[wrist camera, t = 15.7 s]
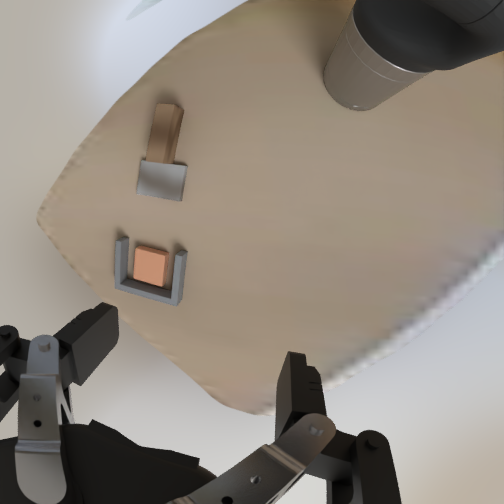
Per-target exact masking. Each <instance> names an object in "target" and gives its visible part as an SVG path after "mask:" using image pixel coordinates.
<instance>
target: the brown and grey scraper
mask: <svg viewBox="0 0 504 504" xmlns="http://www.w3.org/2000/svg"><path fill="white" fill-rule="evenodd" d="M183 114H184V110H183V109H181V108H179V107H178V106H176V105H174V104H157V106H156V110H155V115H154V119H153V124H152V129H151V134H150V139H149V144H148V149H147V155H146V161H145V160H141V166H140V172H139V179H138V186H137V194H140V195H146V196H152V197H158V198H163V199H169V200H174V201H182V197H183V190H184V184H185V178H186V173H187V167H188V166H182V165H176V164H174V158H175V153H176V147H177V142H178V137H179V132H180V127H181V123H182V118H183Z"/></svg>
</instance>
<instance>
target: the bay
mask: <svg viewBox="0 0 504 504" xmlns="http://www.w3.org/2000/svg"><path fill="white" fill-rule="evenodd" d="M128 247H129V238H127V237H122V238H120V239H118V240H116V248H115V288H116V289H119V290H122V291H125V292H128V293H132V294H135V295H138V296H142V297H145V298H149V299H152V300H156V301H159V302H163V303H166V304H170V305H173V306H178V304H179V303H180V301H181V300H182V294H183V285H184V276H185V268H186V260H187V251H183V250H181V251H180V252H178V253H177V254H176V256H175V264H174V274H173V284H172V291H170V290H166V289H162V288H159V287H155V286H151V285H148V284H144V283H141V282H137V281H133V280H130V279H127V266H128Z"/></svg>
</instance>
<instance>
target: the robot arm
mask: <svg viewBox="0 0 504 504" xmlns="http://www.w3.org/2000/svg"><path fill="white" fill-rule="evenodd" d="M501 51H504V0H356V2H355V4H354V6H353V9H352V11H351V13H350V15H349V17H348V19H347V22H346V24H345V26H344V28H343V30H342V33H341V35H340V37H339V39H338V41H337V43H336V45H335V48H334V50H333V52H332V54H331V56H330V58H329V60H328V63H327V65H326V67H325V70H324V83H325V86H326V88H327V90H328V92H329V94H330V95H331V96H332V97H333V99H335V100H336V101H337V102H338V103H339V104H341V105H343V106H344V107H346V108H349V109H352V110H357V111H365V110H370V109H372V108H374V107H376V106H378V105H379V104H381V103H382V102H384V101H386V100H387V99H389V98H390V97H392V96H393V95H395V94H397V93H398V92H400V91H401V90H403V89H405V88H406V87H408V86H409V85H411V84H413V83H414V82H416V81H418V80H419V79H421V78H423V77H424V76H426V75H427V74H429V73H431V72H432V71H434V70H451V69H454V68H457V67H459V66H462V65H464V64H467V63H469V62H472V61H475V60H478V59H480V58H483V57H486V56H489V55H492V54H495V53H498V52H501ZM118 326H119V325H118V309H117V307H115V306H113V305H110V304H107V303H104V302H102V303H100V304H99V305H98V306H96V307H95V308H94V309H89V310H86V311H83V312H81V313H80V314H79V315H78V316H77V317H76V318H74V319H73V320H72V321H71V322H70V323H68V324H67V325H66V326H64V327H63V328H62V329H61V330H60V331H58V332H57V333H56V334H55V335H53V336H50V335H40V336H37V337H35V338H34V339H32V341H30V340H26V339H22V338H20V337H19V333H18V330H17V329H16V328H15V327H13V326H10V325H4V326H1V327H0V366H1V365H2V364H3V365H4V368H5V371H4V372H3V373H2V375H0V422H1V420H2V419H3V418H4V417H5V415H6V414H7V413H8V412H9V411H10V409H11V408H12V407H13V406H14V404H15V403H16V402H17V401H18V436H17V437H13V438H8V439H3V440H0V504H275V503H276V502H277V501H278V500H279V499H280V498H281V497H282V496H283V495H284V494H285V493H286V492H287V491H289V490H290V489H291V487H293V486H294V485H295V484H296V483H297V482H298V481H299V480H300V479H301V478H302V477H303V476H304V475H305V474H309V475H312V476H315V477H319V478H322V479H325V480H326V482H327V504H401V498H400V492H399V487H398V482H397V477H396V472H395V467H394V463H393V459H392V454H391V450H390V445H389V442H388V440H387V438H386V437H385V436H384V435H382V434H381V433H379V432H377V431H373V430H366V431H363V432H361V433H360V434H359V435H358V436H354V435H350V434H347V433H344V432H341V431H339V430H337V429H336V427H335V424H334V423H333V421H332V420H331V419H329V418H328V417H327V415H326V408H325V401H324V395H323V392H322V391H323V389H322V385H321V384H322V383H321V377H320V374H319V372H318V371H317V370H316V368H315V367H313V366H307V363H306V355H305V354H302V353H296V352H290V351H289V352H288V353H287V355H286V358H285V361H284V364H283V367H282V370H281V373H280V375H279V379H278V383H277V392H276V422H275V423H276V424H275V442H273V443H272V444H271V445H267V444H265V445H263V446H262V447H260V448H258V449H257V450H256V451H254V452H253V453H252V454H250V455H249V456H248V457H246V458H245V459H244V460H242V461H241V462H239V463H238V464H237V465H235V466H234V467H232V468H231V469H229V470H228V471H226V472H225V473H223V474H222V475H220V476H219V477H216V476H215V475H214V474H213V473H211V472H210V471H208V470H207V469H205V468H203V467H201V466H199V460H200V458H197V457H193V456H189V455H185V454H182V453H178V452H175V451H172V450H163V449H155V448H148V447H142V446H139V445H137V444H136V443H134V442H133V441H131V440H129V439H128V438H127V437H125V436H124V435H122V434H121V433H119V432H118V431H117V430H115V429H112V428H110V427H108V426H105V425H104V424H101V423H99V422H97V421H95V420H93V419H92V421H91V422H90V423H89V425H84V424H75V422H74V417H73V409H72V400H71V391H70V386H69V385H70V384H71V383H72V382H74V383H76V384H77V385H79V386H81V385H82V384H83V383H84V382H85V380H87V378H88V377H89V376H90V375H91V373H92V372H93V371H94V370H95V369H96V368H97V366H98V365H99V364H100V362H102V360H103V359H104V358H105V357H106V356H107V355H108V353H109V352H110V351H111V350H112V349H113V348H114V347H115V345H116V344H117V341H118V337H119V327H118Z"/></svg>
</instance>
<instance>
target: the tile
mask: <svg viewBox="0 0 504 504" xmlns="http://www.w3.org/2000/svg"><path fill="white" fill-rule="evenodd" d="M168 259H169V253H168V252H164V251H160V250H156V249H152V248H148V247H145V246H141V245H140V246H139V247H137V248H136V250H135V263H134V279H138V280H141V281H144V282H148V283H151V284H154V285H158V286H161V287H162V286H163V285H164V284H165V283H166V276H167V267H168Z"/></svg>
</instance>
